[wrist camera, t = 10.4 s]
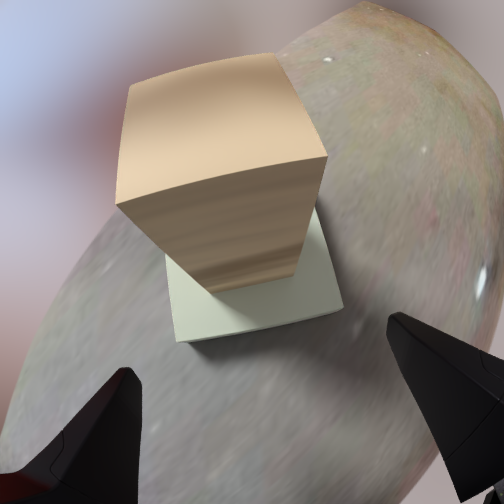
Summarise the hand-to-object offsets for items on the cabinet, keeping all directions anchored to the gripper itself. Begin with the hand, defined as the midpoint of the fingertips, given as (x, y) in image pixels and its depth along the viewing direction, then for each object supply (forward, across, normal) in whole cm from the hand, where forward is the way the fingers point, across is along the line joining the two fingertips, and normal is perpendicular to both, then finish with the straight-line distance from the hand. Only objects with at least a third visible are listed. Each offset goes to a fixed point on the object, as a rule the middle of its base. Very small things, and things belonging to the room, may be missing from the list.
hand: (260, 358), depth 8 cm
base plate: (+13, 0, +3) cm, 13 cm away
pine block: (+11, 0, +1) cm, 11 cm away
